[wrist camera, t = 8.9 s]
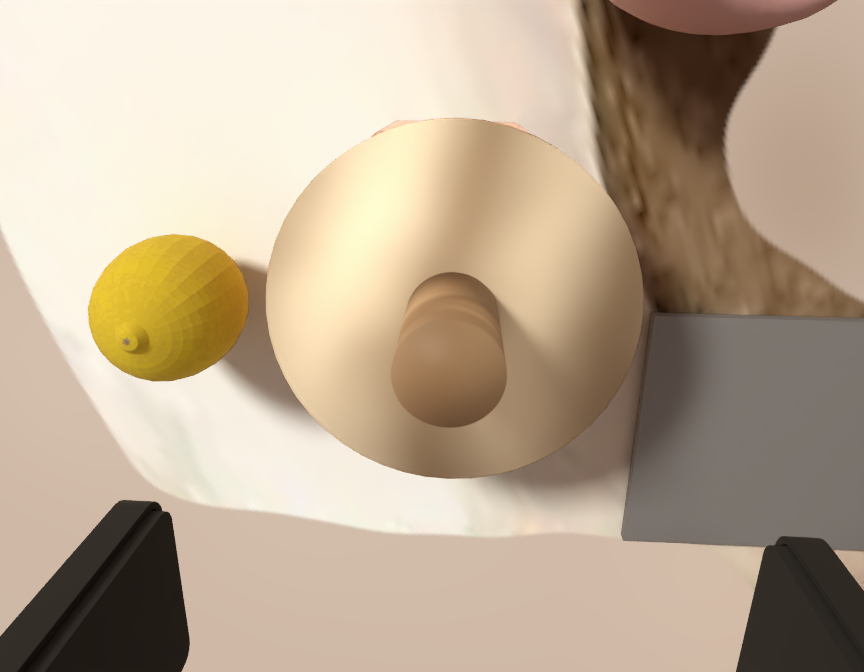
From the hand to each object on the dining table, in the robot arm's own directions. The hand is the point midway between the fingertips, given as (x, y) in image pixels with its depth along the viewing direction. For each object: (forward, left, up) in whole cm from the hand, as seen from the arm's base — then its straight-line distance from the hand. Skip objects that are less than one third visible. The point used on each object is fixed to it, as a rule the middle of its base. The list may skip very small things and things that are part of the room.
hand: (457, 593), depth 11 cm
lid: (0, 0, -14) cm, 14 cm away
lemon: (+11, +1, -21) cm, 24 cm away
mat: (-15, +8, -20) cm, 26 cm away
